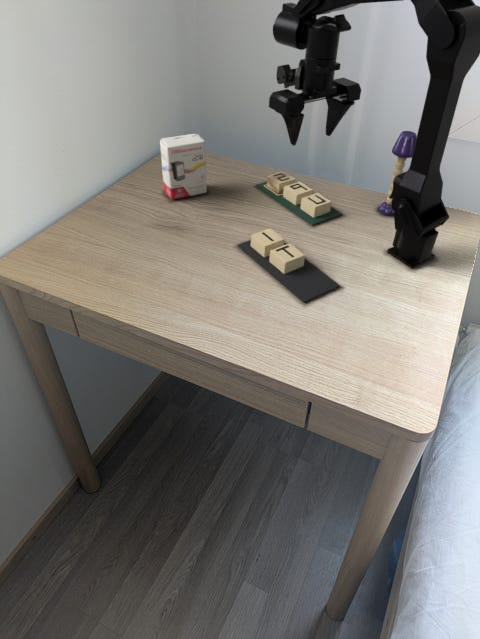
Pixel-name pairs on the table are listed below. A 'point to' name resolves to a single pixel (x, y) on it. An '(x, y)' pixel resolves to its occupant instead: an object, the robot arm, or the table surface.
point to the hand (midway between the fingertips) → (310, 140)
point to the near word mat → (297, 278)
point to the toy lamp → (399, 164)
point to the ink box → (183, 165)
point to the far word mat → (296, 208)
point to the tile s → (279, 181)
